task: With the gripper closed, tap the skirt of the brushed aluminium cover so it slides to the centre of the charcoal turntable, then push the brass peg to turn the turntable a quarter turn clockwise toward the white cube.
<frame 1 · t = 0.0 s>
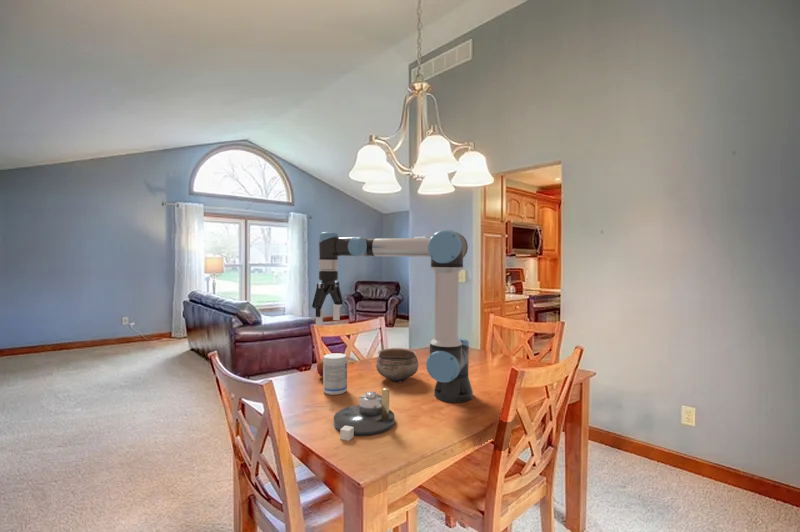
hand: (328, 322, 162), 28 cm above the table, tool pointing down, fingers open, 13 cm apart
turntable: (364, 404, 132), point 6 cm above the table, hinge at 0.0°, touching cover
fruit: (328, 378, 180), on the table
supplement tub: (335, 392, 162), on the table
cooking pot: (397, 380, 178), on the table
cover: (370, 410, 137), point 2 cm above the table, touching turntable
white cube: (347, 437, 121), on the table
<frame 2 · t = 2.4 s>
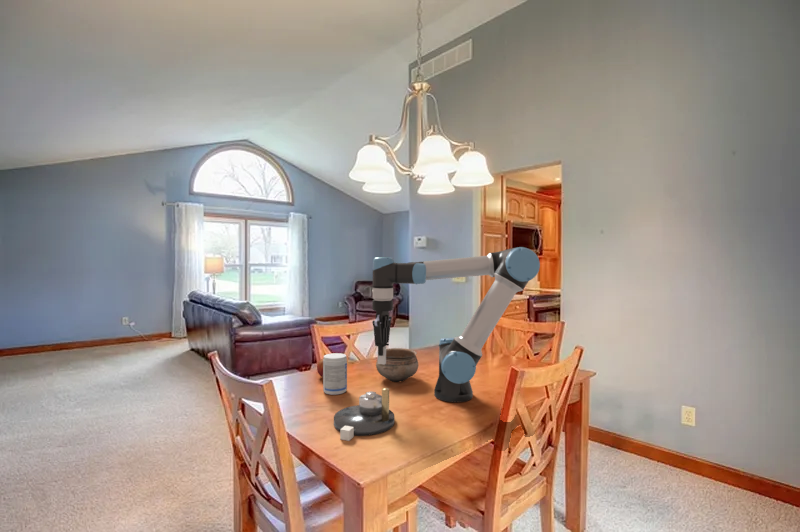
hand: (381, 363, 146), 16 cm above the table, tool pointing down, fingers closed
nothing on the table moved.
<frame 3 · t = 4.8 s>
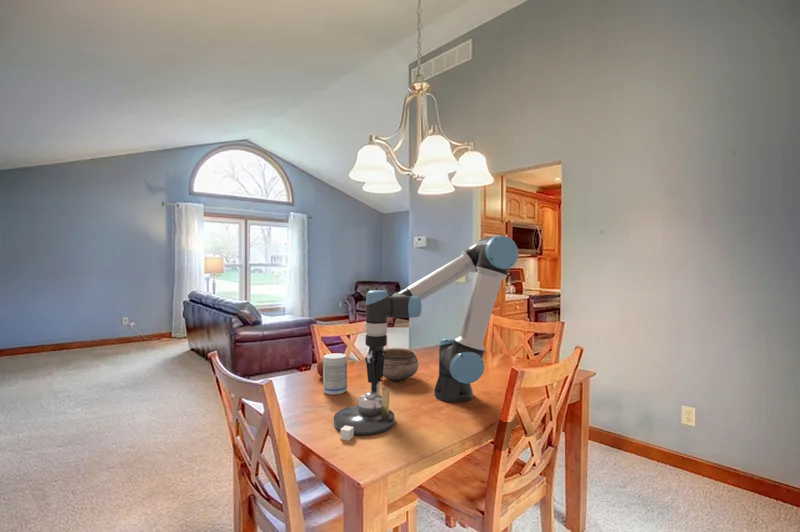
hand: (375, 400, 141), 4 cm above the table, tool pointing down, fingers closed
cover: (370, 410, 137), point 2 cm above the table, touching gripper, turntable
everything else where it was.
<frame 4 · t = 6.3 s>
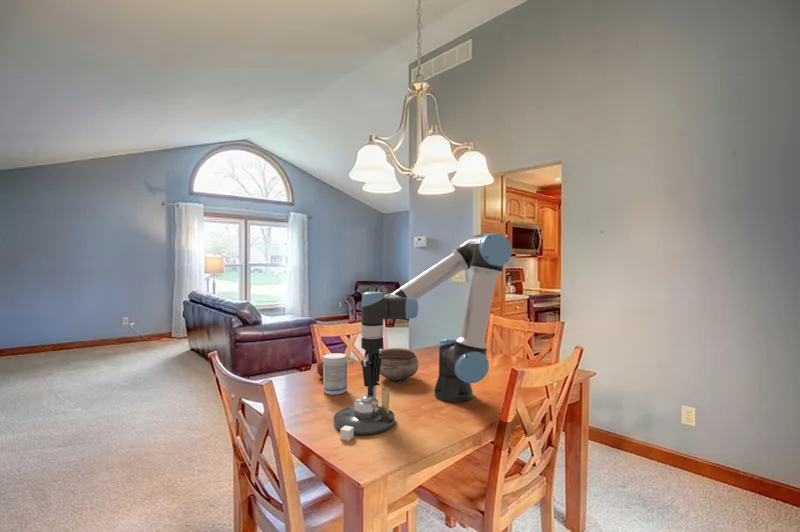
hand: (371, 404, 138), 4 cm above the table, tool pointing down, fingers closed
cover: (366, 415, 133), point 2 cm above the table, touching turntable
everything else where it was.
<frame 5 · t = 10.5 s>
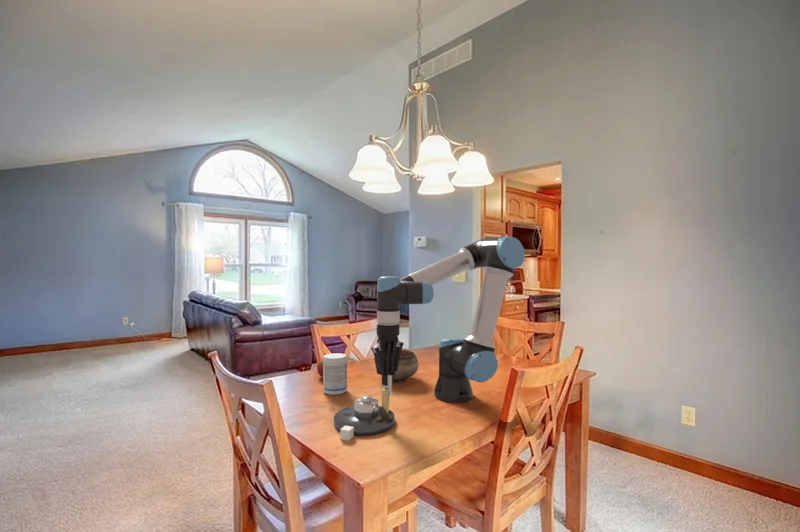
hand: (387, 394, 131), 10 cm above the table, tool pointing down, fingers closed
turntable: (364, 404, 132), point 6 cm above the table, hinge at -0.6°, touching cover, gripper
everything else where it was.
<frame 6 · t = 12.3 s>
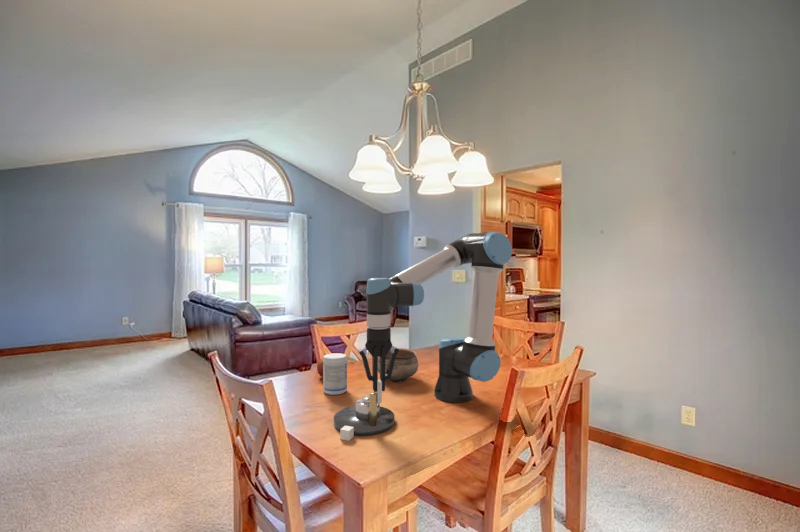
hand: (378, 401, 126), 9 cm above the table, tool pointing down, fingers closed
turntable: (364, 404, 132), point 6 cm above the table, hinge at -43.3°, touching cover, gripper
everything else where it was.
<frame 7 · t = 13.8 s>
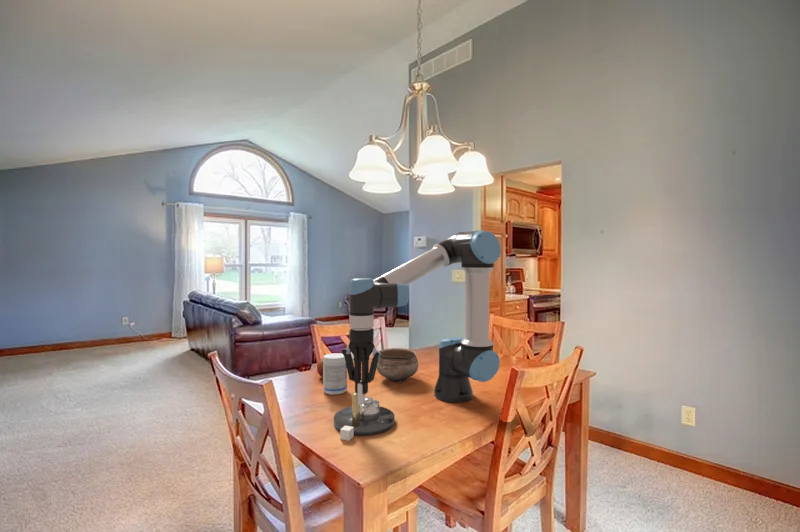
hand: (361, 403, 124), 9 cm above the table, tool pointing down, fingers closed
turntable: (364, 404, 132), point 6 cm above the table, hinge at -85.3°, touching cover, gripper
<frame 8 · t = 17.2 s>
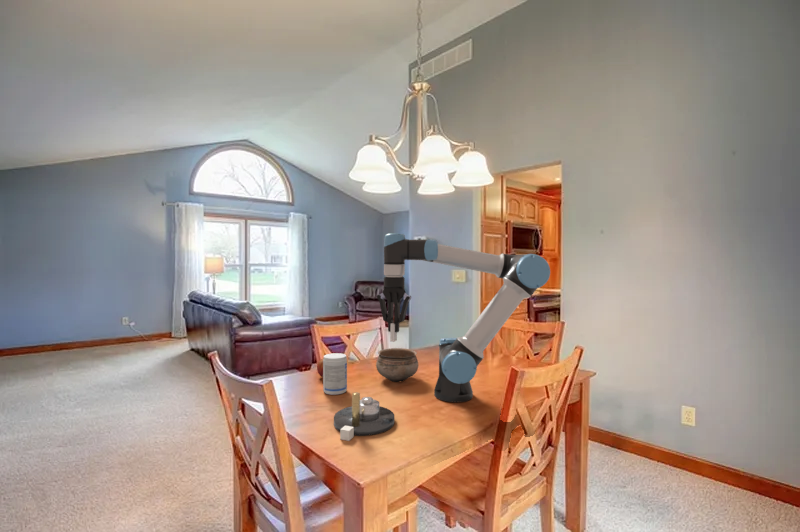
hand: (393, 340, 145), 24 cm above the table, tool pointing down, fingers closed
turntable: (364, 404, 132), point 6 cm above the table, hinge at -85.6°, touching cover
at the end: cover 1.1 cm from the turntable (horizontally); turntable at -86° (first picture: +0°); cover tilted 0° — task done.
